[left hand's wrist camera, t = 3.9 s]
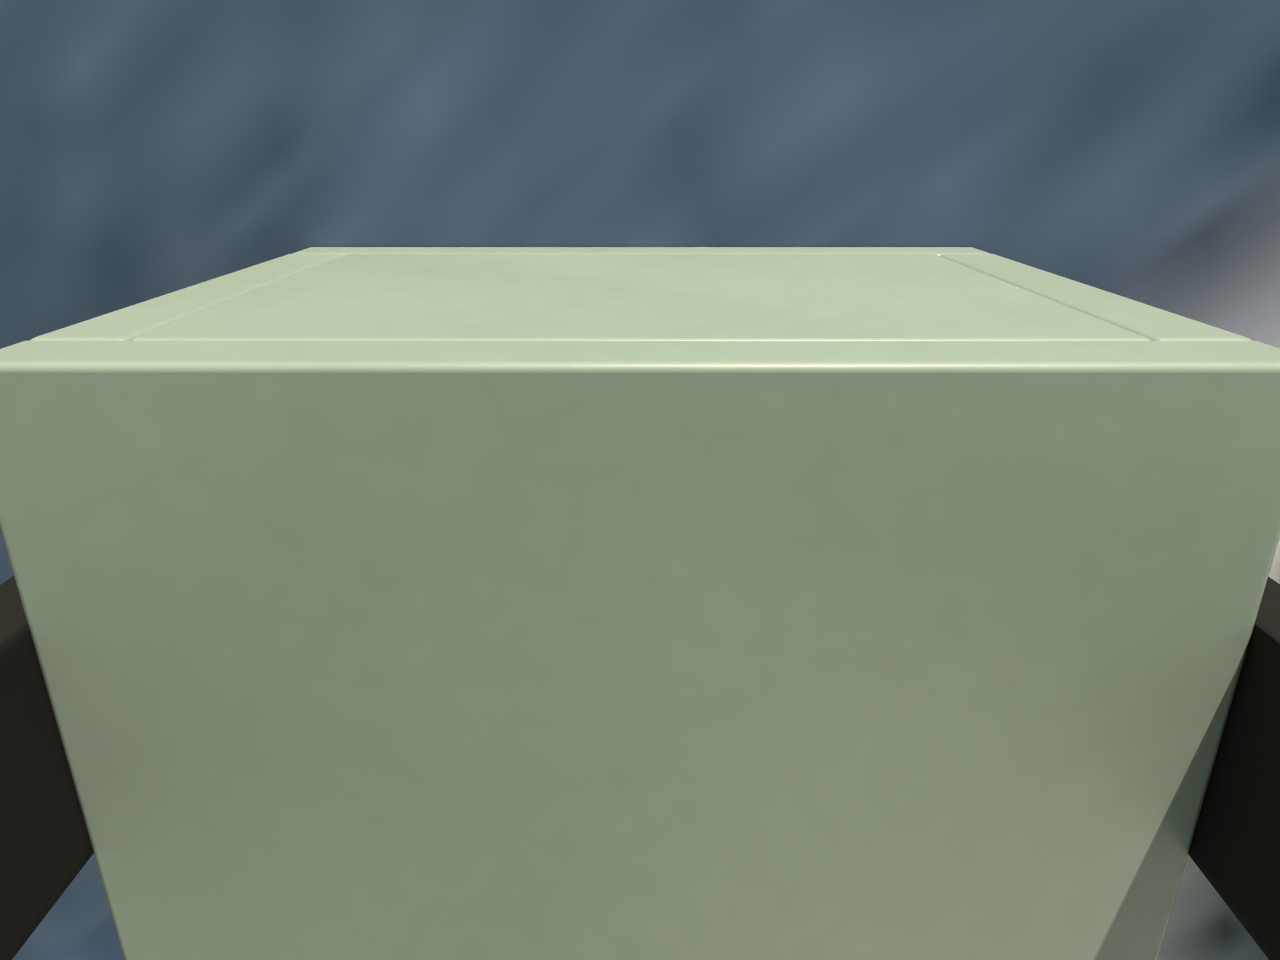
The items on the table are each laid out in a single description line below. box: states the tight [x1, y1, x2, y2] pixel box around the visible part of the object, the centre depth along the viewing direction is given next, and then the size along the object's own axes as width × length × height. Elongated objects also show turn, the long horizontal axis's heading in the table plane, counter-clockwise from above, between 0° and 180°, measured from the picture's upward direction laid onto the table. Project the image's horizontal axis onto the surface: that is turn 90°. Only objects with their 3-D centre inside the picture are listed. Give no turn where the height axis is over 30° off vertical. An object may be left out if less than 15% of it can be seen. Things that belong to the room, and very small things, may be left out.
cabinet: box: [0, 247, 1280, 960], centre depth 15 cm, size 20×11×8 cm, turn 0°
